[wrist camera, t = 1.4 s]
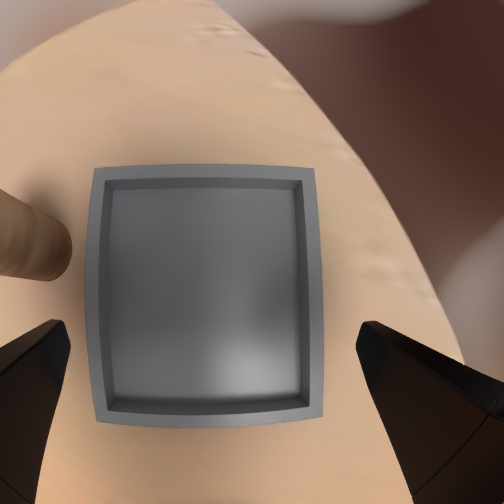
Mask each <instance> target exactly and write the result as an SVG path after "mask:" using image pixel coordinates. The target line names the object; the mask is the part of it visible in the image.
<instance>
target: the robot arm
mask: <svg viewBox="0 0 504 504" xmlns="http://www.w3.org/2000/svg"><path fill="white" fill-rule="evenodd" d="M70 349H71V344H70V340H69V337H68V334H67V330H66V327H65V324H64V322H63V321H62V320H55V319H51V320H49V321H47V322H45V323H43V324H41V325H39V326H38V327H36V328H34V329H32V330H31V331H29V332H27V333H25V334H23V335H22V336H20V337H18V338H16V339H15V340H13V341H11V342H9V343H8V344H6V345H4V346H2V347H1V348H0V504H35V498H36V492H37V486H38V480H39V475H40V470H41V465H42V460H43V456H44V451H45V447H46V443H47V439H48V435H49V431H50V427H51V424H52V420H53V416H54V413H55V409H56V406H57V403H58V400H59V396H60V393H61V389H62V385H63V380H64V375H65V371H66V366H67V362H68V358H69V354H70ZM356 351H357V354H358V357H359V360H360V364H361V367H362V370H363V373H364V376H365V380H366V383H367V386H368V389H369V391H370V394H371V396H372V398H373V401H374V403H375V405H376V408H377V410H378V413H379V415H380V417H381V420H382V422H383V424H384V427H385V429H386V432H387V434H388V437H389V439H390V442H391V444H392V447H393V449H394V452H395V454H396V457H397V459H398V462H399V464H400V467H401V470H402V472H403V475H404V477H405V480H406V483H407V485H408V488H409V491H410V494H411V496H412V500H413V502H414V504H504V382H501V381H499V380H496V379H494V378H492V377H489V376H487V375H485V374H482V373H480V372H478V371H476V370H474V369H472V368H470V367H468V366H466V365H463V364H462V363H460V362H458V361H456V360H454V359H452V358H449V357H447V356H445V355H443V354H441V353H439V352H437V351H435V350H433V349H431V348H429V347H427V346H425V345H423V344H421V343H419V342H417V341H415V340H413V339H411V338H409V337H407V336H405V335H403V334H401V333H399V332H397V331H395V330H393V329H391V328H389V327H387V326H385V325H383V324H381V323H379V322H377V321H365V322H363V323H362V325H361V328H360V331H359V335H358V338H357V341H356Z"/></svg>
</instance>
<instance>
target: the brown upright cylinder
mask: <svg viewBox="0 0 504 504" xmlns="http://www.w3.org/2000/svg"><path fill="white" fill-rule="evenodd" d="M71 254H72V243H71V238H70V235H69V233H68V231H67V230H66V228H65V227H64V226H63V225H62V224H60V223H58V222H57V221H55V220H53V219H51V218H49V217H48V216H46V215H44V214H42V213H40V212H39V211H37V210H35V209H33V208H32V207H30V206H28V205H26V204H25V203H23V202H21V201H20V200H18V199H16V198H14V197H13V196H11V195H9V194H8V193H6V192H4V191H3V190H1V189H0V275H3V276H10V277H17V278H24V279H31V280H39V281H52V280H55V279H57V278H58V277H59V276H61V275H62V274H63V273H64V271H65V270H66V268H67V267H68V264H69V262H70V259H71Z"/></svg>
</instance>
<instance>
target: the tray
mask: <svg viewBox="0 0 504 504" xmlns="http://www.w3.org/2000/svg"><path fill="white" fill-rule="evenodd" d="M85 315H86V336H87V350H88V361H89V371H90V380H91V388H92V395H93V401H94V408H95V414H96V419H97V422H104V423H113V424H122V425H133V426H146V427H165V428H222V427H241V426H255V425H266V424H275V423H284V422H292V421H299V420H306V419H312V418H318V417H323V383H324V323H323V287H322V265H321V247H320V231H319V218H318V205H317V194H316V183H315V173H314V168H300V167H284V166H265V165H236V164H167V165H139V166H120V167H105V168H94V175H93V182H92V189H91V197H90V206H89V216H88V228H87V242H86V263H85Z"/></svg>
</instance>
